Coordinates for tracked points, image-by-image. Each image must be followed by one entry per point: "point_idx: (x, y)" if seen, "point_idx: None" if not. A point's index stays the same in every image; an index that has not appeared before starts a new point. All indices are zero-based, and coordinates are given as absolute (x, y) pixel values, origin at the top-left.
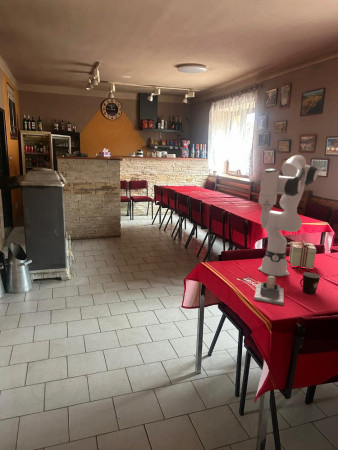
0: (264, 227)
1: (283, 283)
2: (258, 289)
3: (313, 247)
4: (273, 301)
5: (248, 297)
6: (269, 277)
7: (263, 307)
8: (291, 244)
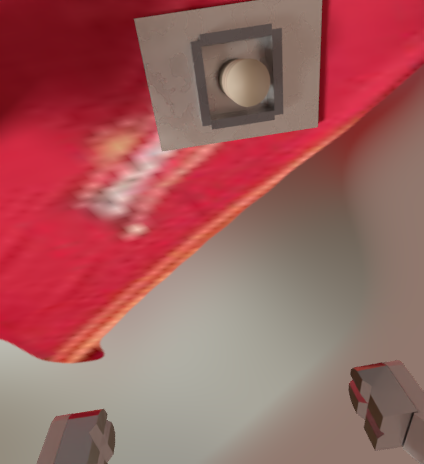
0: (401, 374)
1: (22, 35)
2: (227, 131)
3: None
4: (319, 42)
5: (299, 148)
6: (261, 93)
7: (370, 74)
8: None
